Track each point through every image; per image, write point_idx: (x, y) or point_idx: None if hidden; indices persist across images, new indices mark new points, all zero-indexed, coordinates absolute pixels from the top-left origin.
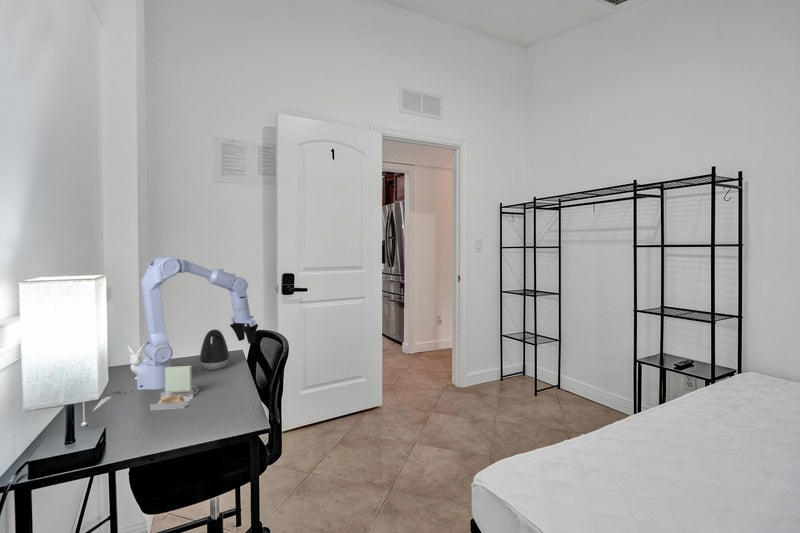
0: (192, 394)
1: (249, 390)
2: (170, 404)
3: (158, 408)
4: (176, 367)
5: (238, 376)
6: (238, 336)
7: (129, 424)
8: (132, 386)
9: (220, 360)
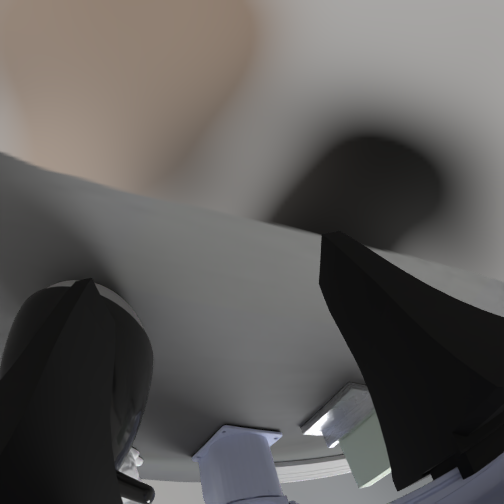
0: None
1: (450, 271)
2: None
3: None
4: (382, 475)
5: (299, 263)
6: (109, 370)
7: None
8: (181, 467)
9: (150, 346)
